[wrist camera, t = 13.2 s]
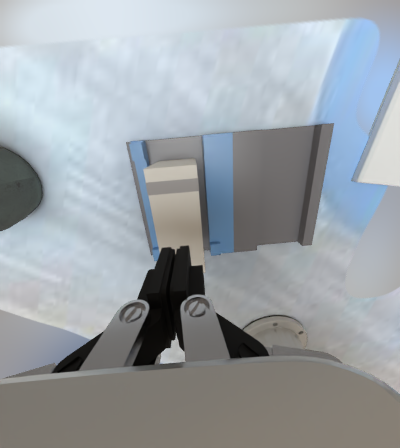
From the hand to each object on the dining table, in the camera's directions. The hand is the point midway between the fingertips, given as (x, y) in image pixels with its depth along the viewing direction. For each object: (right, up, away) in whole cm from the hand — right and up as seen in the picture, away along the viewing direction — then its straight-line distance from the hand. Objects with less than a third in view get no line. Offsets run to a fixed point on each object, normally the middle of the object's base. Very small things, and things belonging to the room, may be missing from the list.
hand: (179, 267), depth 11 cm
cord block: (-1, +5, +11) cm, 12 cm away
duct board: (+5, +6, +11) cm, 14 cm away
